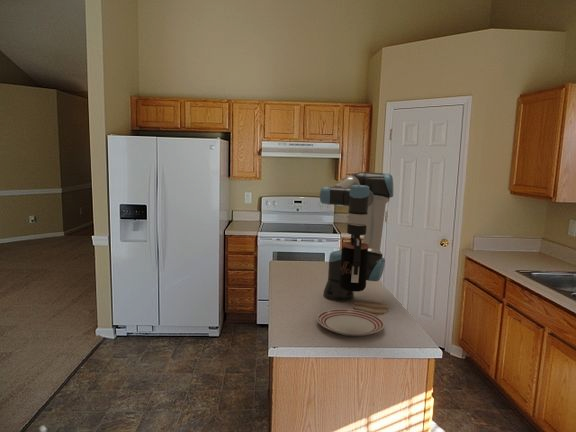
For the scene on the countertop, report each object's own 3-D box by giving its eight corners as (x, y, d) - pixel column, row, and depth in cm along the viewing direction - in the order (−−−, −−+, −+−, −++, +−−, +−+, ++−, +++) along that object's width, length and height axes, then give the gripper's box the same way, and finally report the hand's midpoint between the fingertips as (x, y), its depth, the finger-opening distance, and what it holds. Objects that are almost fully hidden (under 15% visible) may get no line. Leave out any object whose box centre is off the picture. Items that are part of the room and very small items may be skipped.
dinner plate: (305, 317, 172) (306, 310, 172) (361, 311, 182) (361, 304, 182) (335, 345, 147) (335, 337, 147) (397, 337, 157) (398, 329, 156)
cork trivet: (351, 301, 195) (351, 300, 195) (384, 303, 194) (385, 302, 194) (355, 313, 179) (355, 312, 179) (391, 315, 178) (391, 314, 178)
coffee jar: (334, 284, 166) (337, 241, 163) (358, 283, 169) (361, 241, 166) (345, 292, 155) (349, 247, 153) (370, 291, 159) (374, 246, 156)
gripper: (345, 219, 170) (341, 270, 173) (350, 228, 147) (346, 286, 150) (362, 220, 170) (358, 271, 173) (371, 229, 147) (366, 287, 150)
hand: (353, 278), depth 162 cm, fingers closed on coffee jar, 11 cm apart
